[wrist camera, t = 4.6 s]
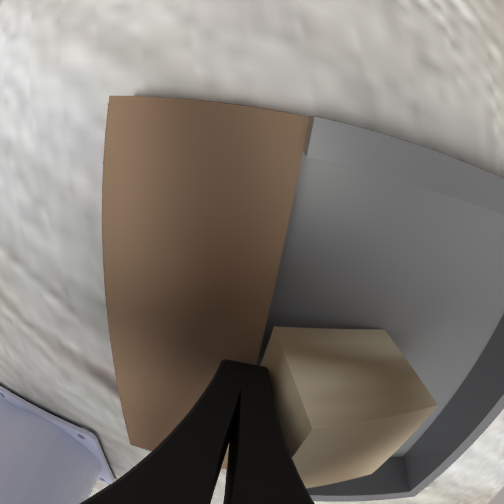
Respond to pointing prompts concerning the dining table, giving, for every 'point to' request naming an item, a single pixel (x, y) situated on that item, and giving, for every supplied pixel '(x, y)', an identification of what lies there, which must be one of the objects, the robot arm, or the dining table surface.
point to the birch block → (343, 399)
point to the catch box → (401, 283)
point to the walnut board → (190, 245)
